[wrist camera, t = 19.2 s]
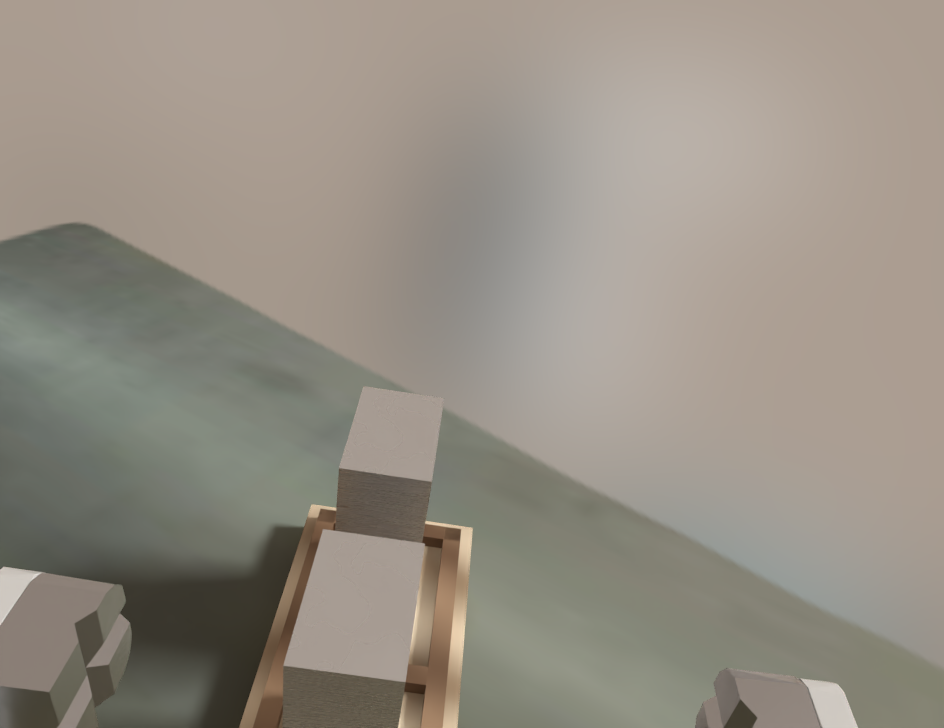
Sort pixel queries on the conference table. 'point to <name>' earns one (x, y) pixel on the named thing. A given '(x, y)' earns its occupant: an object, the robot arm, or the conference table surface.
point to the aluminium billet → (353, 634)
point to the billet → (389, 465)
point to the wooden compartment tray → (433, 639)
